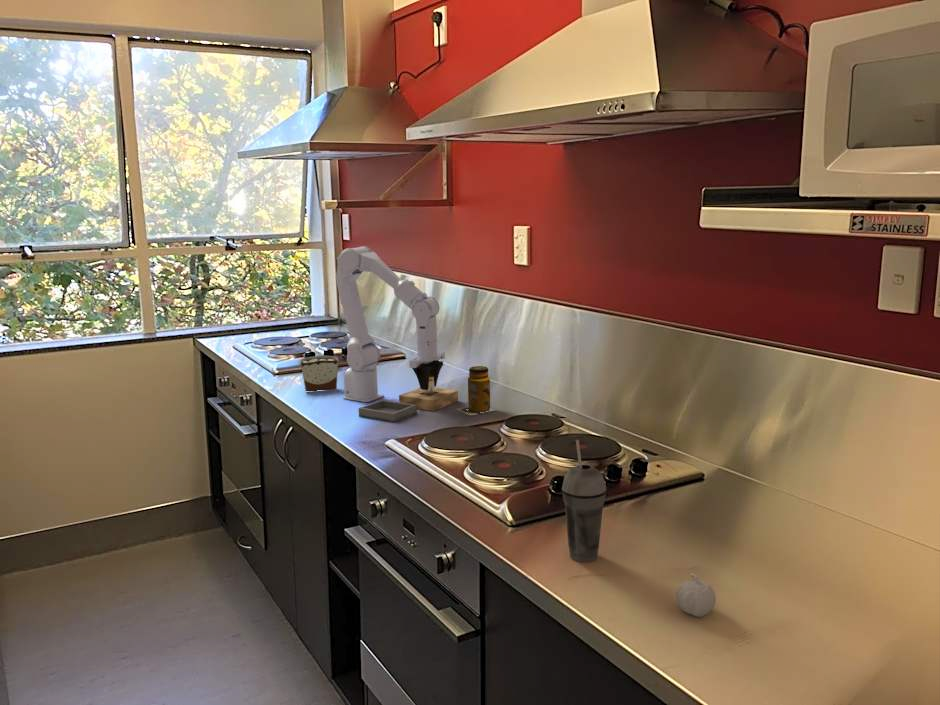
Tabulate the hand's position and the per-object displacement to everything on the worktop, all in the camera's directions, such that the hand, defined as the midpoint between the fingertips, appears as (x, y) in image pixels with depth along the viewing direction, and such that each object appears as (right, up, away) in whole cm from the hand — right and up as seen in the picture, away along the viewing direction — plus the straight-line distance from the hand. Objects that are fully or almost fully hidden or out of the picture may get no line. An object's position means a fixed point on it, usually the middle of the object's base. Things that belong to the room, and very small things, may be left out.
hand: (428, 387), depth 229 cm
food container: (-35, -2, +21) cm, 40 cm away
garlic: (+44, -27, -114) cm, 125 cm away
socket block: (0, -4, +1) cm, 5 cm away
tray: (-10, -7, -10) cm, 16 cm away
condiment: (+14, -6, -8) cm, 17 cm away
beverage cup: (+30, -24, -96) cm, 104 cm away
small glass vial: (0, -4, +1) cm, 4 cm away
